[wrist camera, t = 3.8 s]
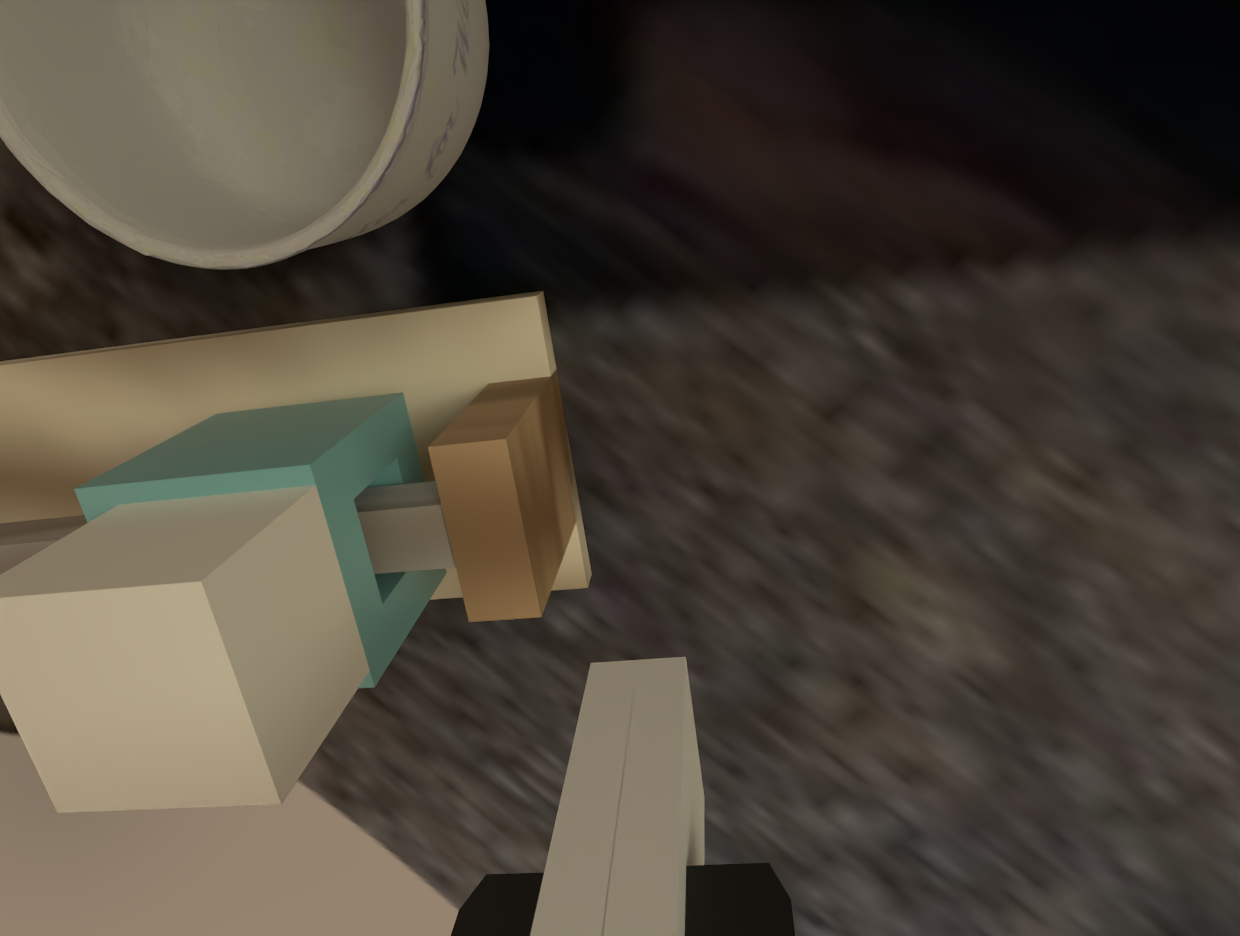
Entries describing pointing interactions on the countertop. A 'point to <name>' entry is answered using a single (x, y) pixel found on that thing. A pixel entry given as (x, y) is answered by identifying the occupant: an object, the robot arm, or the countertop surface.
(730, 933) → the robot arm
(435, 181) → the teacup
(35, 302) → the countertop surface
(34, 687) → the sleeve
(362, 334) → the rail
